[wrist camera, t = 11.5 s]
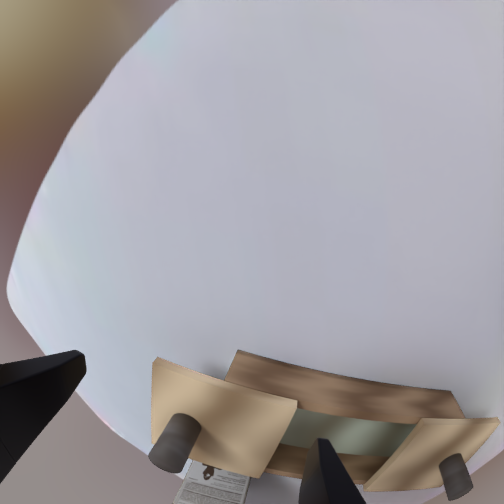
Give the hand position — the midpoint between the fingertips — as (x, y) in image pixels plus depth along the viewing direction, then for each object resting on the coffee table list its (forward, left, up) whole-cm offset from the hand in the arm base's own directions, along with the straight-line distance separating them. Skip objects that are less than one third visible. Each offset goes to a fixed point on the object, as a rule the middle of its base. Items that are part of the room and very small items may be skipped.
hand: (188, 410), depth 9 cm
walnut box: (-10, +10, -12) cm, 19 cm away
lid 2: (-20, +10, -8) cm, 24 cm away
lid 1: (0, +10, -8) cm, 13 cm away
